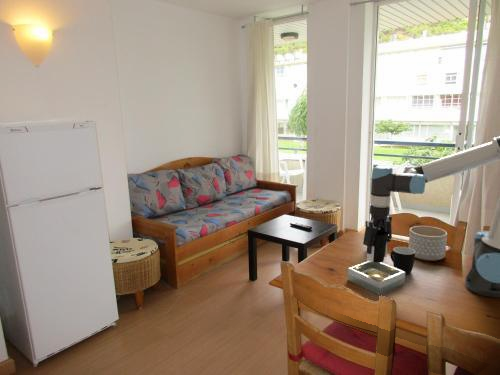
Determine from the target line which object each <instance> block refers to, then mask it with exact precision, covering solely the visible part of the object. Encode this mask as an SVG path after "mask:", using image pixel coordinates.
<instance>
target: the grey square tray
mask: <svg viewBox="0 0 500 375" xmlns="http://www.w3.org/2000/svg"><path fill="white" fill-rule="evenodd" d="M405 278H406V275H405V271H402V270H399V269H397V268H394V266H392V265H389V264H386V263H384V262H371V261H368V260H366V261H365V262H362V263H359V264H355V265H352V266H350V267H348V270H347V281H349V282H351V283H353V284H356V285H357V286H359V287H361V288H364V289H366V290H367V291H369V292H372V293H374V294H376V295H378V296H381V295H383V294H386V293H388V292H390V291H393V290H394V289H397V288H399V287H401V286H404V285H405V281H406V279H405Z"/></svg>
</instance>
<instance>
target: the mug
mask: <svg viewBox="0 0 500 375" xmlns="http://www.w3.org/2000/svg"><path fill="white" fill-rule="evenodd" d="M389 256H390V260H391V261H392V264H393V267H394V268H397V269H399V270H402V271H405V276H407V275H410V274H411V273H412V271H413V268H414V264H415V258H416V257H415V251H414V250H413V249H411V248H408V247H407V246H396V247H394V248H393V249H392V250H391V252H390V255H389Z"/></svg>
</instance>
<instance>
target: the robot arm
mask: <svg viewBox="0 0 500 375" xmlns="http://www.w3.org/2000/svg"><path fill="white" fill-rule="evenodd" d="M497 162H500V135H498V136H495V137H493V139H492V141H490V142H486V143H483V144H480V145H478V146H475V147H471V148H468V149H466V150H465V149H464V150H462V151H459V152H457V153H453V154H450V155H447V156H444V157H441V158H437V159H435V160H433V161H432V160H431V161H429V162H426V163H423V164H420V165H417V166H411V167H408V168H406V169H405V170H404V171H403V172H394V171H393V168H392V166H385V165H384V166H383V165H379V166H374V167H373V168H372V170H371V178H370V179H371V181H370V205H369V214H370V220H369V221H368V220H366V221H365V230H364V236H363V242H362V243H363V244H362V245H364V246H366V261H371V262H373V259H374V246H373V243H374V240H375V235H376V234H377V231H379V228H380V232H381V233H382V234H386V231H387V232H388V238H387V244H386V249H385V255H384V258H387V255H388V246H389V245H388V244H389V243H390V242H391V240H392V235H393V234H392V233H393V232H392V229H393V228H392V221H393V220H392V219H393V217H392V216H391V215H390V208H391V207H390V205H391V198H392V197H391V195H392V194H391V192H394V193H405V194H413V195H418V194H419V195H422V194H424V193H425V188H426V184H427V183H430V182H432V181H433V182H434V181H437V180H439V179H443V178H446V177H450V176H453V175H456V174H460V173H464V172H467V171H469V170H473V169H476V168H479V167H482V166H486V165H489V164H494V163H497ZM389 215H390V216H389ZM371 216H372V217H371ZM373 226H374V227H375V228H373ZM464 286H465V288H467V289H468V290H469V291H471V292H473V293H475V294H478V295H480V296H485V297H490V298H500V196H499V198H498V200H497V204H496V208H495V211H494V215H493V217H492V220H491V224H490V227H489V231H477V232H476V233H475V235H474V242H473V254H472V261H471V268H470V269H469V271H468V273H467V275H466V277H465V279H464Z"/></svg>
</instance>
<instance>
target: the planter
mask: <svg viewBox="0 0 500 375" xmlns="http://www.w3.org/2000/svg"><path fill="white" fill-rule="evenodd" d="M408 235H409V236H408V247H407V248H411V249H413V250H414V251H415V258H416V259H418V260H422V261H425V262H426V261H427V262H429V261H430V262H434V261H435V262H436V261H439V260H442V259H444V258H446V251H447V240H448V239H447V238H448V232H447V231H446V230H444V229H443V228H440V227H436V226H430V225H429V226H428V225H415V226H412V227H410V228H409V232H408Z"/></svg>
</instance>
